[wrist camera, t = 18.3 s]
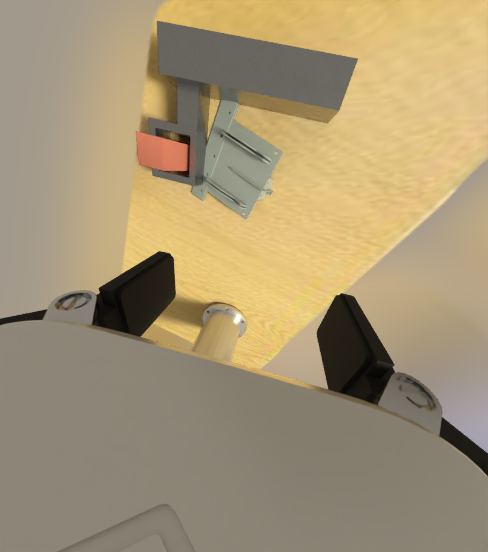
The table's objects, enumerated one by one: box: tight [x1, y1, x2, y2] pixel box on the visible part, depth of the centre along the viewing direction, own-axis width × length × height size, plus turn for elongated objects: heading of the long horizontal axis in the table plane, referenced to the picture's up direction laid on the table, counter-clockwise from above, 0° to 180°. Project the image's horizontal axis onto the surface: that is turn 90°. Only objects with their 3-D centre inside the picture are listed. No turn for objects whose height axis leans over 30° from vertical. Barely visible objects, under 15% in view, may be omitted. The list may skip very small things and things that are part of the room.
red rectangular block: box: [136, 131, 190, 171], centre depth 27 cm, size 4×4×10 cm
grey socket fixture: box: [148, 21, 358, 186], centre depth 25 cm, size 16×25×6 cm, turn 79°
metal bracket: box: [191, 100, 283, 219], centre depth 30 cm, size 14×6×15 cm
